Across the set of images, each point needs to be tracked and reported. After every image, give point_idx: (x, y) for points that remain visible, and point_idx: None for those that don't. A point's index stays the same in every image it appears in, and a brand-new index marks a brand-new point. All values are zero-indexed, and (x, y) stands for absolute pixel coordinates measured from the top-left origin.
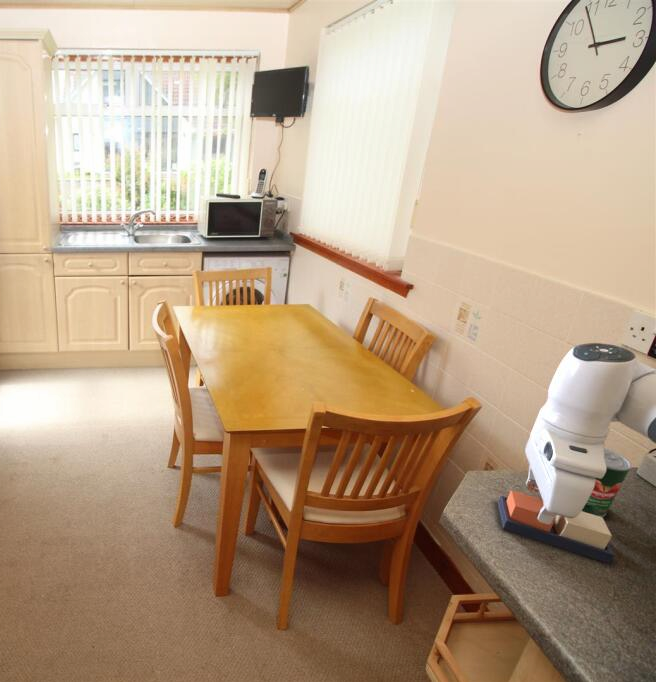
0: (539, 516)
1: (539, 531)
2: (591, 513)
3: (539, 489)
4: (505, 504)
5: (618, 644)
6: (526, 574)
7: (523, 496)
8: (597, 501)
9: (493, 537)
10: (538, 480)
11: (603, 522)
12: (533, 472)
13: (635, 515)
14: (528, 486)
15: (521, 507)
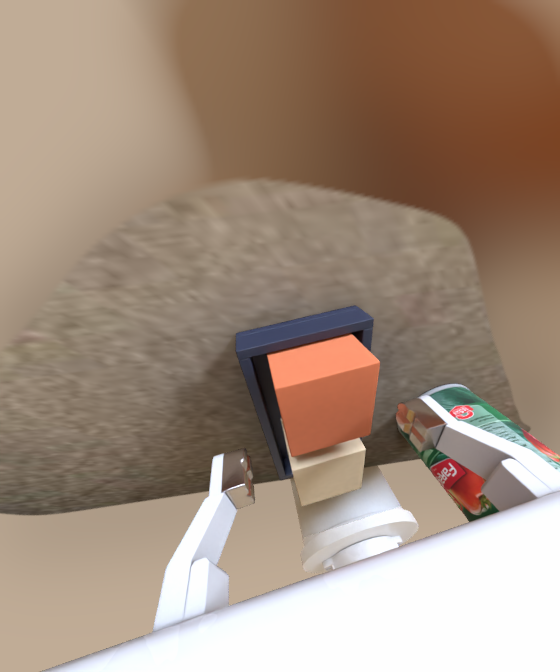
0: (211, 475)
1: (256, 409)
2: (402, 432)
3: (243, 632)
4: (327, 336)
5: (59, 496)
6: (84, 397)
7: (356, 394)
8: (424, 460)
9: (167, 319)
10: (327, 659)
11: (341, 493)
12: (450, 565)
13: None
14: (409, 410)
15: (278, 402)
